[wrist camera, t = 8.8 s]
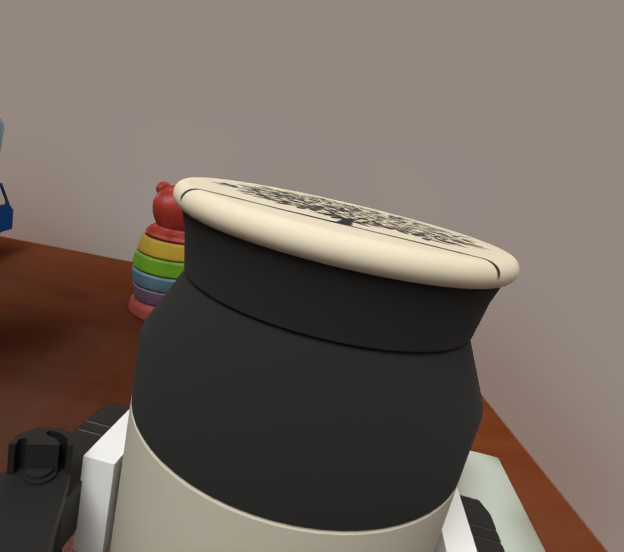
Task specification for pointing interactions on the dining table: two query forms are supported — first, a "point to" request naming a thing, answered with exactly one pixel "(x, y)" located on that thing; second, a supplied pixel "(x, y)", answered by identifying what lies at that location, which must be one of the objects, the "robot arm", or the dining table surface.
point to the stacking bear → (158, 254)
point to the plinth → (499, 502)
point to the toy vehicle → (5, 213)
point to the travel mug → (304, 378)
